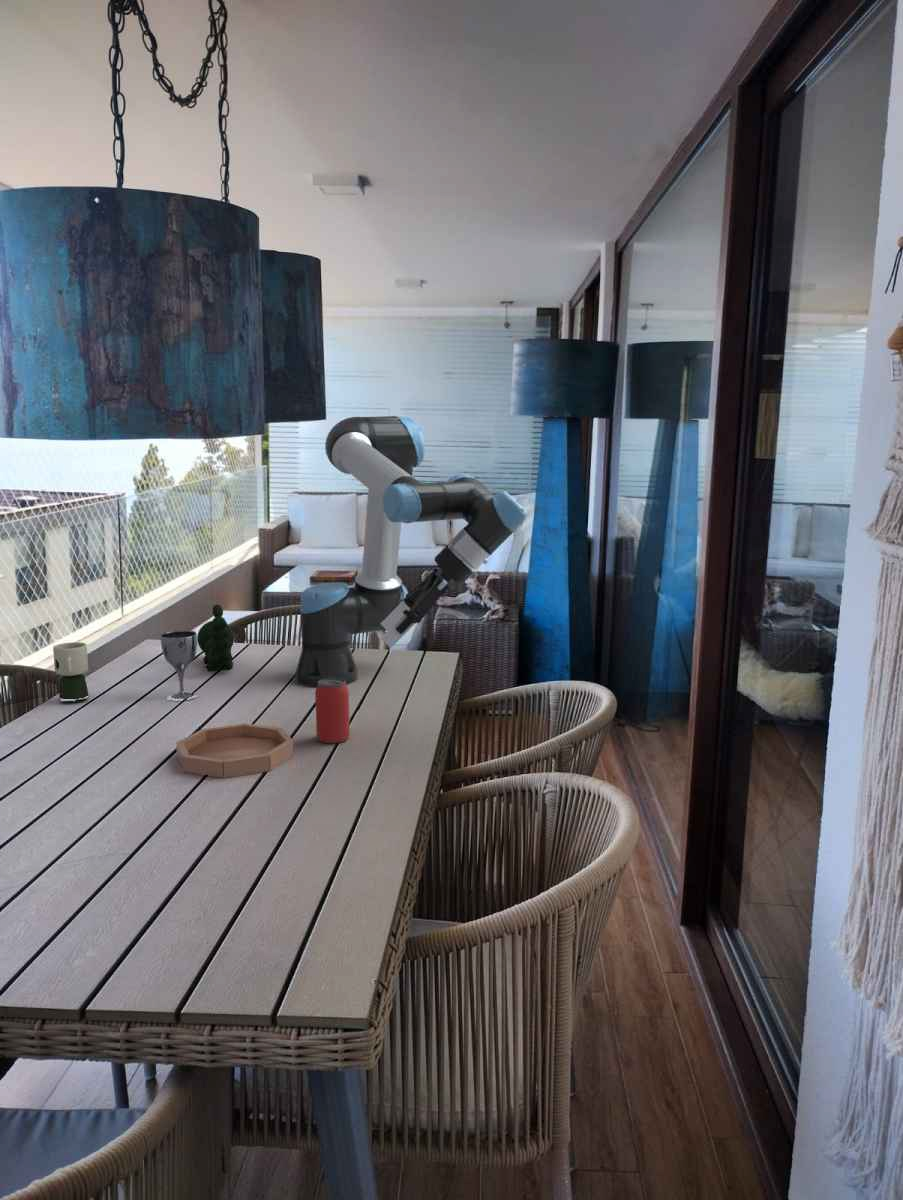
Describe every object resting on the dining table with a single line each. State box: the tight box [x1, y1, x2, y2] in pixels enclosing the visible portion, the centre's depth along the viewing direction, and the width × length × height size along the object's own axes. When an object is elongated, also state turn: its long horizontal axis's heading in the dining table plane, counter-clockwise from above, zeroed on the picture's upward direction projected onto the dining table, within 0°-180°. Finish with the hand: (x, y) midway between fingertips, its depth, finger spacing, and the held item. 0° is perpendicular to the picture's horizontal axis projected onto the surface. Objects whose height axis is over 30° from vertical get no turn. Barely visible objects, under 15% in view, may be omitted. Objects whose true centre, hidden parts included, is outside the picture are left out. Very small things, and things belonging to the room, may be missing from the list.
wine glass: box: [160, 629, 198, 699], centre depth 219 cm, size 8×8×15 cm
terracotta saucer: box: [175, 723, 294, 779], centre depth 181 cm, size 20×20×3 cm
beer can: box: [314, 678, 351, 744], centre depth 190 cm, size 7×7×12 cm
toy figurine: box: [197, 603, 235, 672], centre depth 246 cm, size 9×19×25 cm
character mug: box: [52, 641, 89, 699], centre depth 216 cm, size 11×7×13 cm, turn 15°
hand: (385, 635), depth 187 cm, fingers open, 13 cm apart
